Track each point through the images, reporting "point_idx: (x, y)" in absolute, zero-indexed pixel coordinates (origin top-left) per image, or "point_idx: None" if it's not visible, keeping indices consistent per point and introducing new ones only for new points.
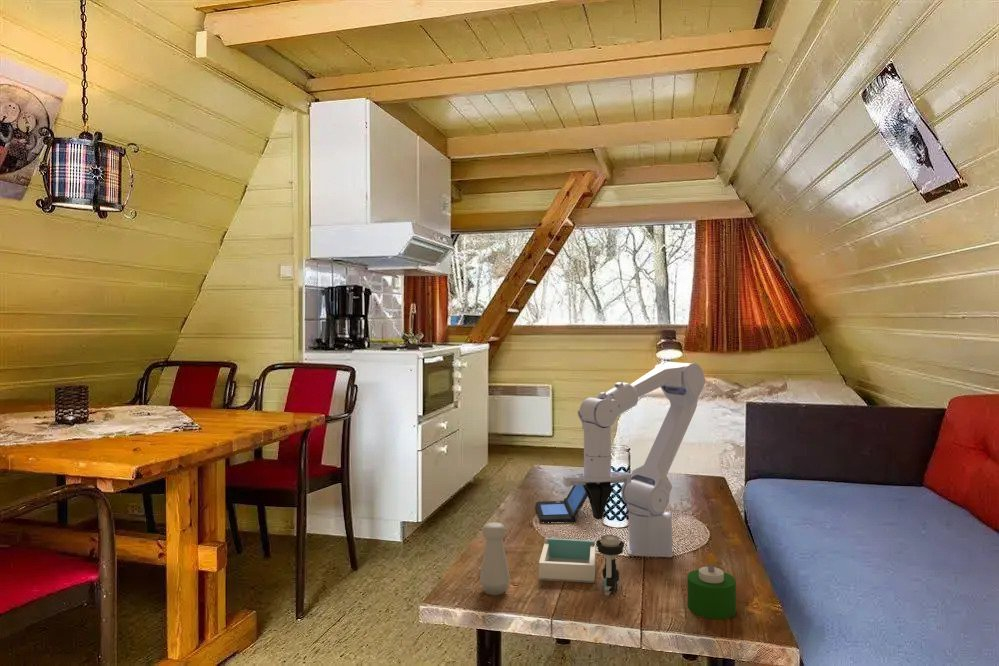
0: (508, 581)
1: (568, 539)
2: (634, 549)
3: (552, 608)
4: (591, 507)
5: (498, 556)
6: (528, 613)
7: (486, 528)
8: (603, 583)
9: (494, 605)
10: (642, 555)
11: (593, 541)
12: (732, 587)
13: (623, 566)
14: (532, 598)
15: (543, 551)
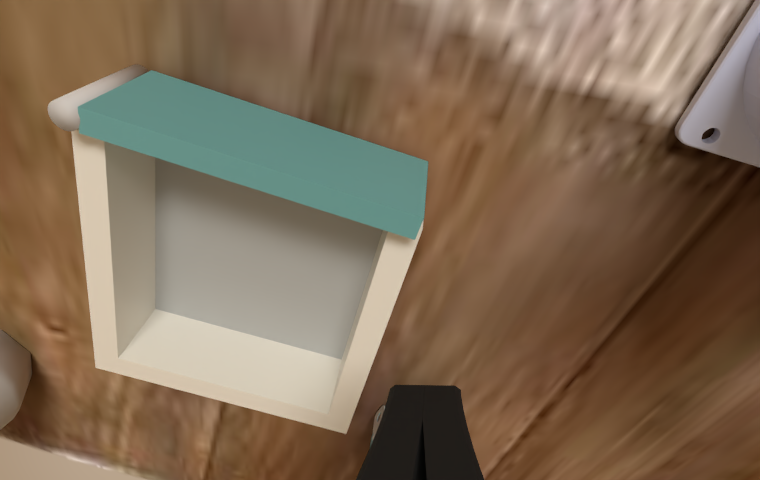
0: (19, 403)
1: (233, 165)
2: (751, 116)
3: (201, 464)
4: (365, 463)
5: None
6: (137, 469)
7: None
8: (381, 417)
9: (31, 422)
10: (756, 165)
11: (410, 235)
12: None
13: (554, 258)
14: (135, 413)
15: (92, 254)
